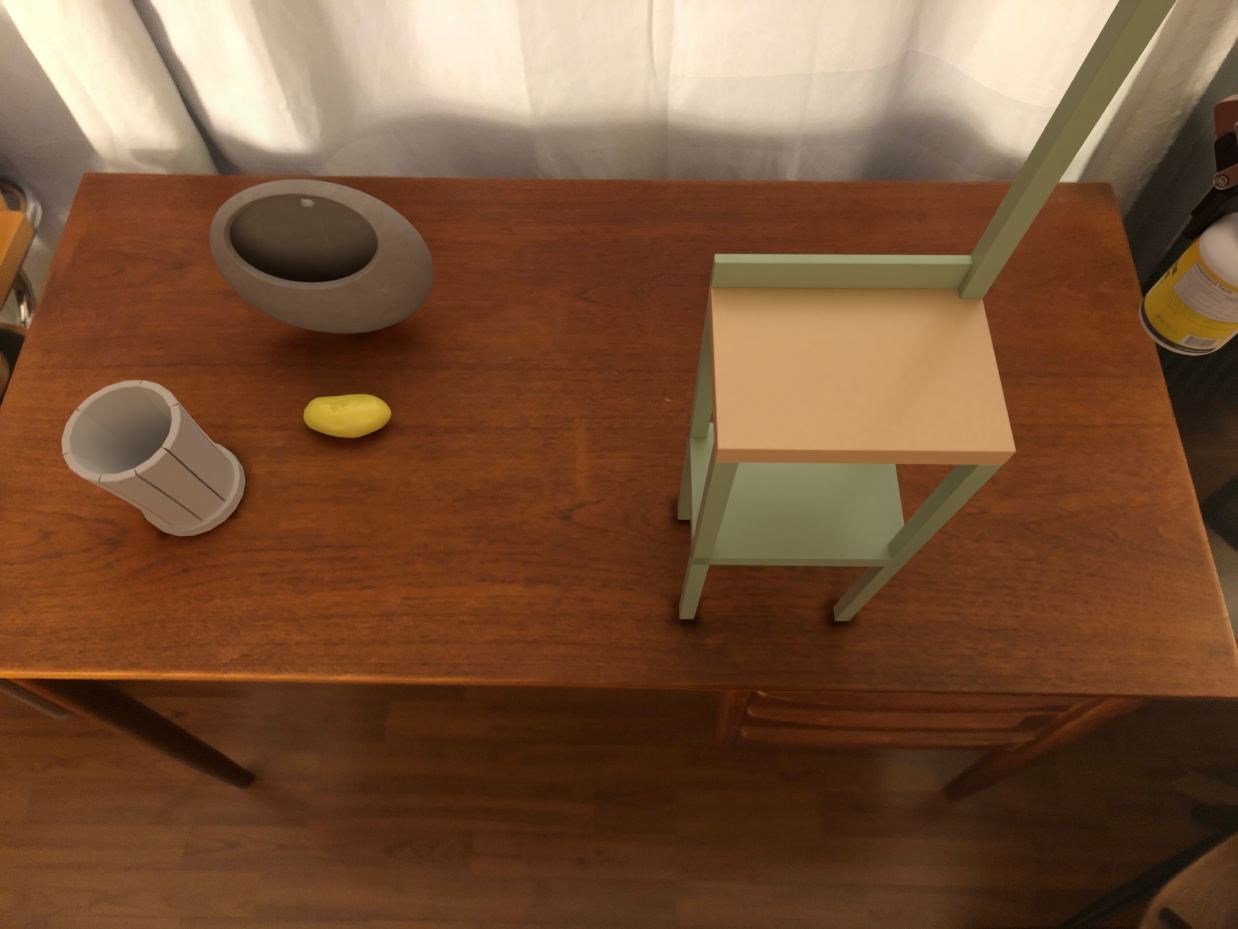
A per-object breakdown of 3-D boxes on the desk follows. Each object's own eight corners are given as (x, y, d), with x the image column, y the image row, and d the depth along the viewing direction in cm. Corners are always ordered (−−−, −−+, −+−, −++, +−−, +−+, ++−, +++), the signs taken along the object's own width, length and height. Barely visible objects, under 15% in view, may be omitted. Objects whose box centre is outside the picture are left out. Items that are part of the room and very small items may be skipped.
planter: (260, 362, 77) (156, 226, 60) (269, 302, 80) (173, 158, 63) (451, 350, 78) (401, 212, 61) (453, 291, 81) (406, 144, 64)
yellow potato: (316, 403, 75) (300, 382, 72) (399, 407, 75) (388, 385, 71) (306, 443, 73) (290, 423, 70) (392, 446, 73) (380, 426, 70)
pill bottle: (1200, 286, 62) (1315, 171, 52) (1239, 355, 60) (1368, 247, 49) (1120, 295, 62) (1220, 181, 52) (1155, 364, 59) (1267, 258, 49)
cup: (111, 508, 71) (17, 447, 60) (175, 425, 74) (98, 354, 64) (207, 553, 69) (129, 499, 58) (268, 466, 72) (205, 400, 62)
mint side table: (849, 621, 66) (1528, -65, 16) (679, 619, 66) (832, -64, 16) (836, 509, 70) (1343, -306, 20) (677, 507, 70) (794, -303, 21)
